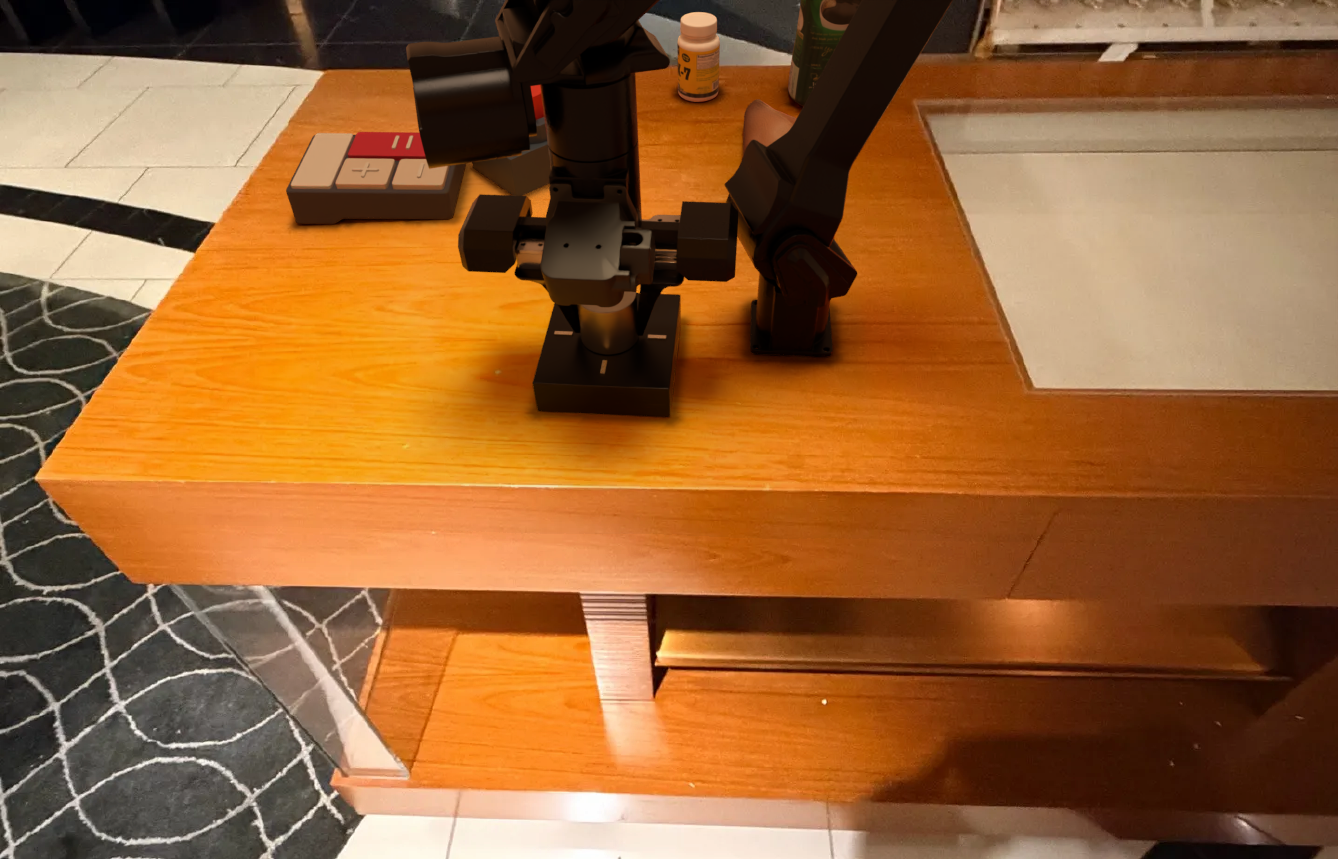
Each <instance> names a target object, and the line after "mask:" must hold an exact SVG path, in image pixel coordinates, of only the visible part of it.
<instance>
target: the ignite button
mask: <svg viewBox="0 0 1338 859" xmlns="http://www.w3.org/2000/svg"><path fill="white" fill-rule="evenodd" d="M531 92H532V99H533V105H534V111H535V118H536V120H537V119H540V118H542V117H544V111H543V103H542V96H541V88H540V85H535V86H531Z"/></svg>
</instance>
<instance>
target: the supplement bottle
mask: <svg viewBox="0 0 1338 859" xmlns="http://www.w3.org/2000/svg"><path fill="white" fill-rule="evenodd" d="M717 31H718V19H717V17H716V16H715V15H714V14H712V13H710V12H704V11H703V12H702V11H695V12H689V13H686V14H683V15H682V16H681V17H680V27H679V32H680V35H679V36H678V38H677V45H676V46H677V47H676V48H677V51H676V52H677V93H678V96H680V97H681V98H682V99H683V100H685V101H688V102H692V103H693V102H694V103H702V102H707V101H711V100H713V99H715V98H716V97H717V96H718V94H719V91H720V89H719V88H720V87H719V86H720V52H721V51H720V49H721V41H720V37H719V36H718V34H717V33H718V32H717Z"/></svg>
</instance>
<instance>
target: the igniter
mask: <svg viewBox="0 0 1338 859" xmlns="http://www.w3.org/2000/svg"><path fill="white" fill-rule="evenodd" d="M536 127H537V135H536V136H530V137H529V141H530V150H527V151H522V155H520V156H513V157H506V158H499V159H492V160H486V161H479V162H472V163H471V165H472V168H473V169H474V170H476V171H477V172H479V173H480V174H481V175H483V176H484V177H485V178H487V179H488V180H490V181H492V182H493V183H494V184H496V185H497V186H499V187H500V188H502V189H503V190H504V191H506V192H507V193H509V194H510V195H512V196H526V195H527V194H529V193H531V192H533V191H536V190H538V189H540V188H542V187H545V186H547V185H550V182H549V175H550V172H551V168H550V160H549V152H548V144H547V135H546V127H545V119H544V117H542V118H540V119H537V120H536Z"/></svg>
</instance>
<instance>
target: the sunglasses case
mask: <svg viewBox="0 0 1338 859" xmlns="http://www.w3.org/2000/svg"><path fill="white" fill-rule="evenodd" d="M796 119H797V117H796V116H793V115H789V114H788V113H785V112H783V111H780V110H778V109H775V108H773V107H772V106H771V105H769V104H767V103H766V102H764V101H763V100H761V98H760V99H759V98H758V99H754V100H752V101H751V102H750V103H749V104H747V107H746V108H745V110H744V113H743V129H742V130H743V131H742V132H743V137H742V139H743V140H742V142H743V143H742V145H743V147H742V150H743V151H742V156H743V155H744V152H745V149H746V147H747V145H748V144H749V143H750V141H751V140H756V141H758V142H760V143H761V144H763V145H765V146H766V147H767V146H769V145H770V144H771V143H773V142H774V141H776V140H777V139H779V138H780V137H782V136H783V135H785V134H786V133H787V132H788V131H789V130H790V129H791V127H792V126H793V124H794V123H795V121H796Z"/></svg>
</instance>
